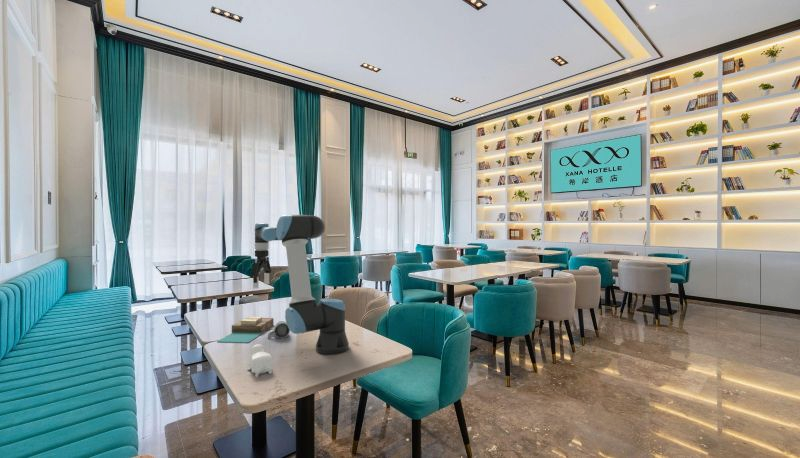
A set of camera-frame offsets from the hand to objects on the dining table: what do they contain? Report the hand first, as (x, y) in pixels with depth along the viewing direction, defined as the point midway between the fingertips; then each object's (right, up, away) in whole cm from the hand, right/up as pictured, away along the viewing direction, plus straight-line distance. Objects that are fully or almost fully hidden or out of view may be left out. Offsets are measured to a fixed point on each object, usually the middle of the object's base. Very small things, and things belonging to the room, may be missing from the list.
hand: (261, 286), depth 203 cm
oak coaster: (-1, -18, -11) cm, 21 cm away
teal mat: (-1, -22, -25) cm, 33 cm away
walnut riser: (-1, -22, -9) cm, 24 cm away
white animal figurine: (+25, -23, -64) cm, 72 cm away
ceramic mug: (+18, -23, -22) cm, 37 cm away
